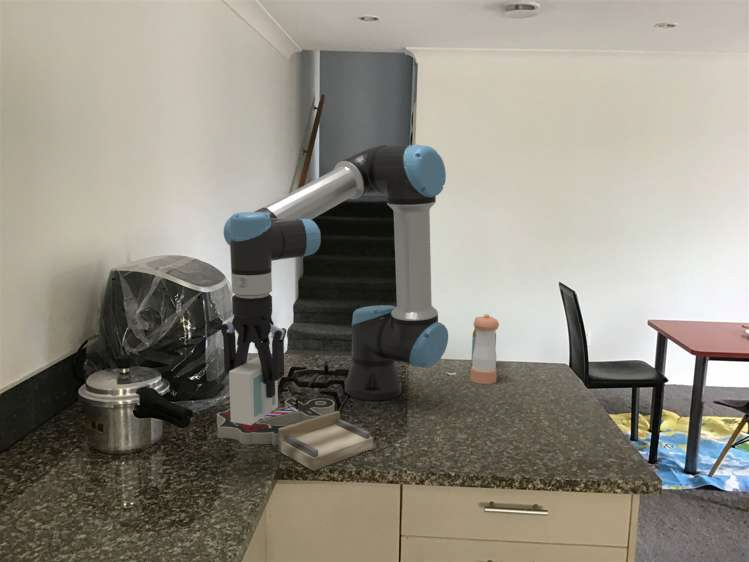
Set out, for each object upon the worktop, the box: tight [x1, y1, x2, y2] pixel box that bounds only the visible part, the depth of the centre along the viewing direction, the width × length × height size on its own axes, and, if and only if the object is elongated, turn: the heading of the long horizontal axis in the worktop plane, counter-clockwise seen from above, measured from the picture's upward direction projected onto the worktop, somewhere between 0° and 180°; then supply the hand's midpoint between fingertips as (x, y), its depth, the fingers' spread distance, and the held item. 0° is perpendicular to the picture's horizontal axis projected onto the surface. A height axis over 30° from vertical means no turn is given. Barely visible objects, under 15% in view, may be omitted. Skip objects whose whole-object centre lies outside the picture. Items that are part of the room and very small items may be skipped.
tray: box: [277, 410, 374, 472], centre depth 140 cm, size 12×16×5 cm
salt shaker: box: [470, 314, 500, 385], centre depth 188 cm, size 7×7×19 cm
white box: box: [228, 356, 279, 425], centre depth 130 cm, size 5×10×10 cm, turn 158°
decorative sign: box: [216, 397, 336, 446], centre depth 155 cm, size 22×3×30 cm
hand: (255, 410), depth 131 cm, fingers closed on white box, 5 cm apart
